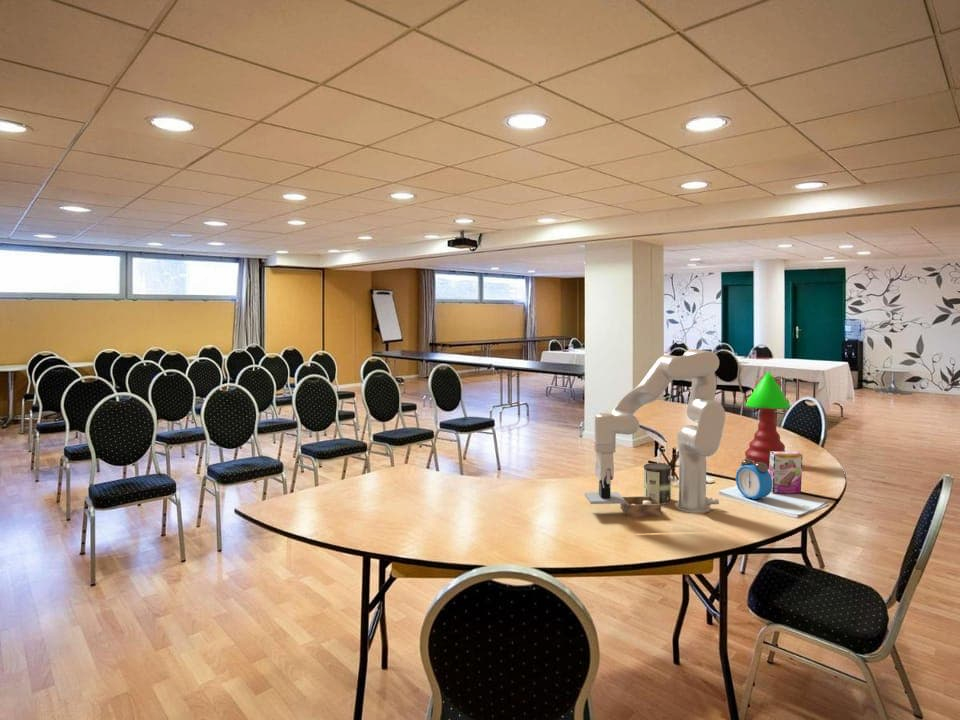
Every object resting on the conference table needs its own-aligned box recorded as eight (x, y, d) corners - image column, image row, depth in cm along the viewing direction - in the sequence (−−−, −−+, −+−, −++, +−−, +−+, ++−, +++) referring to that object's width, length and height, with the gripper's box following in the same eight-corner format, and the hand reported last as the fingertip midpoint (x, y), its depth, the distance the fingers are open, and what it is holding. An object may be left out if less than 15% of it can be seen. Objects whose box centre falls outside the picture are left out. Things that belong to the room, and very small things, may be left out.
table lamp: (779, 458, 294) (781, 369, 291) (796, 469, 274) (799, 373, 271) (738, 458, 296) (739, 369, 293) (752, 468, 276) (754, 373, 273)
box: (651, 509, 222) (652, 496, 222) (660, 518, 212) (661, 504, 212) (620, 509, 222) (620, 496, 221) (627, 519, 212) (627, 505, 211)
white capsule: (649, 510, 219) (649, 500, 218) (652, 513, 216) (652, 502, 215) (641, 510, 218) (641, 500, 218) (644, 513, 215) (644, 503, 215)
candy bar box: (773, 493, 238) (773, 454, 237) (768, 490, 243) (769, 451, 242) (802, 494, 237) (803, 454, 236) (796, 490, 242) (797, 451, 241)
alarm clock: (734, 494, 238) (735, 457, 237) (746, 492, 241) (747, 456, 239) (761, 503, 226) (761, 465, 225) (773, 501, 228) (773, 463, 227)
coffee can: (669, 497, 235) (669, 463, 234) (672, 506, 225) (672, 469, 224) (642, 496, 237) (642, 462, 236) (644, 504, 227) (644, 469, 226)
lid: (617, 494, 221) (617, 479, 221) (625, 503, 211) (625, 487, 211) (584, 495, 221) (584, 479, 221) (590, 504, 211) (590, 487, 210)
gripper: (589, 442, 223) (589, 490, 224) (600, 452, 206) (599, 504, 208) (609, 442, 223) (609, 490, 224) (621, 452, 207) (620, 503, 208)
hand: (604, 496), depth 216 cm, fingers closed on lid, 3 cm apart
